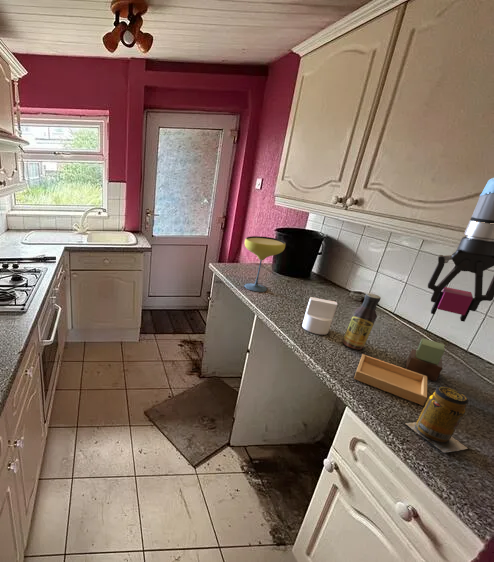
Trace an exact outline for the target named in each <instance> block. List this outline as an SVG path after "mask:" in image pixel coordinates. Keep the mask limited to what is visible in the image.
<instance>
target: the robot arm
mask: <svg viewBox="0 0 494 562" xmlns="http://www.w3.org/2000/svg"><path fill="white" fill-rule="evenodd" d="M476 221H478V222H476ZM481 222H485V223H481ZM490 223H494V177H492V178H490V179H488V180H487V182H486V185H485V186H484V188H483V190H482V192H481V193H480V194H479V197H478V200H477V203H476V205H475V207H474V210H473V213H472V215H471V217H470V220H469V221H468V223H467V226H466V227H465V230H464V232H463V234H464V235H465V236H463V237H461V240H460V241H459V243H458V246H457V248H456V251H455V252H453V253H452V254H448V255H447V254H446V255H444V254H439V255H438V256H437V264H436V266H435V269H434V271H433V273H432V274H431V276H430V279H429V281H428V282H427V288H428V289H429V290H432V291H433V293H432V294H431V297H430V302H431V303H433V304H432V308H431V310H430V314H431V315H435V314H436V312H437V311H438V308H437V307H438V305H439V303H440V301H441V298H442V296H443V292H442V291H443V289H444V288H445V287H447V286H448V285H449V284H451V282H452V280H454V278H456V277H457V275H459V274H460V273H461V272H469V273H472V274H474V296H473V299H472V301H471V303H470V305H469V307H468V309H467V311H466V313H465V315H461V314H460V317H459V319H460V322H465V321H466V319H467V317H468V316H469V314H470V312H476V311H477V309H478V308H479V305H480V303H481V302H484V301H486V302H487V301H488V302H491V301H493V300H494V275H493V276H492V278H491V280H490V283H489V284H488V285H489V286H488V288H487V290H486V293H485V294H483V285H484V284H483V283H484V282H483V281H484V272H485V271H487V270H489V269H490V268H493V267H494V224H490ZM450 260H452V262H453V264H454V266H453V268H451V270H450V271H449V272H448V273H447V274H446V276H445V277H443V279H442V280H441V281H440V282H439V283H438V284H437V285H436V283H437V281H438V279H439V276H440V275H441V273H442V271H443V269H444V267H445V264H448V263H449V261H450Z"/></svg>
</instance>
